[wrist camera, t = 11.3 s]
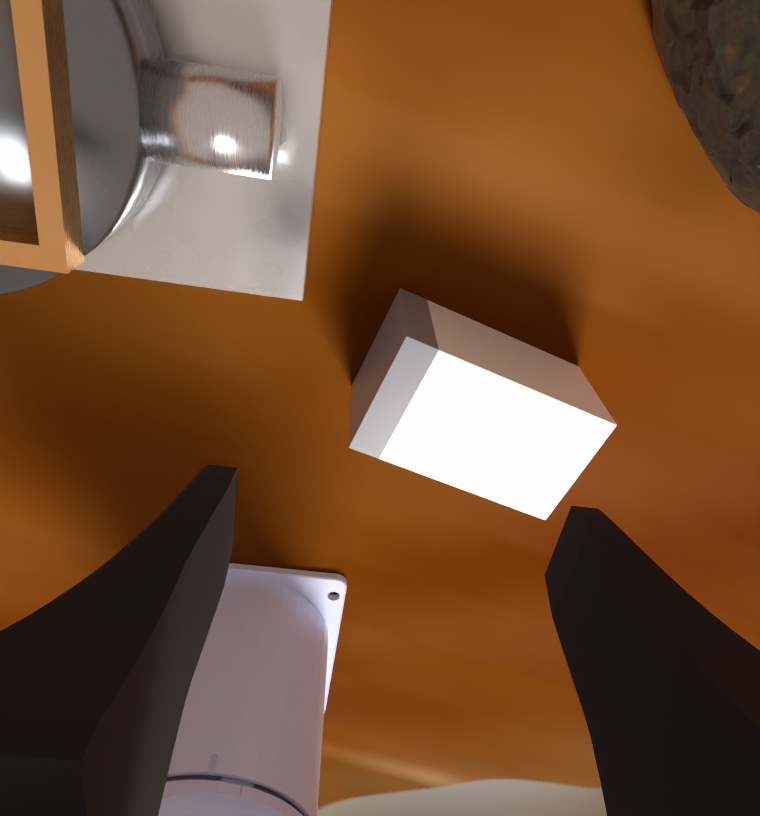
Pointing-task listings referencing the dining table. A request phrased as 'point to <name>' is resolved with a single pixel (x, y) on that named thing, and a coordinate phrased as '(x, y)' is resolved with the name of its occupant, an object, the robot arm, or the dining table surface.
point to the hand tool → (717, 81)
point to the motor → (161, 140)
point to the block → (474, 408)
